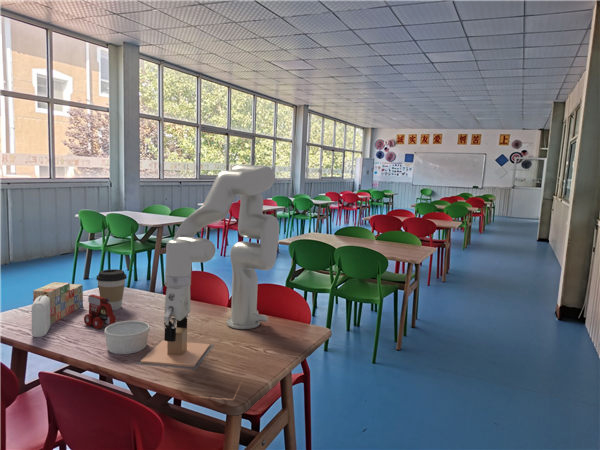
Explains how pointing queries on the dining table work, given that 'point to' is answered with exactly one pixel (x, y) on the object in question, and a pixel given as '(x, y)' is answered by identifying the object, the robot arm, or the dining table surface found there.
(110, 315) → the toy fire truck
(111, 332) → the ramekin
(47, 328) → the photo printer
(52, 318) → the stack of blocks
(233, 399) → the dining table surface
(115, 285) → the coffee cup
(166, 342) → the cover
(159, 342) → the mat
